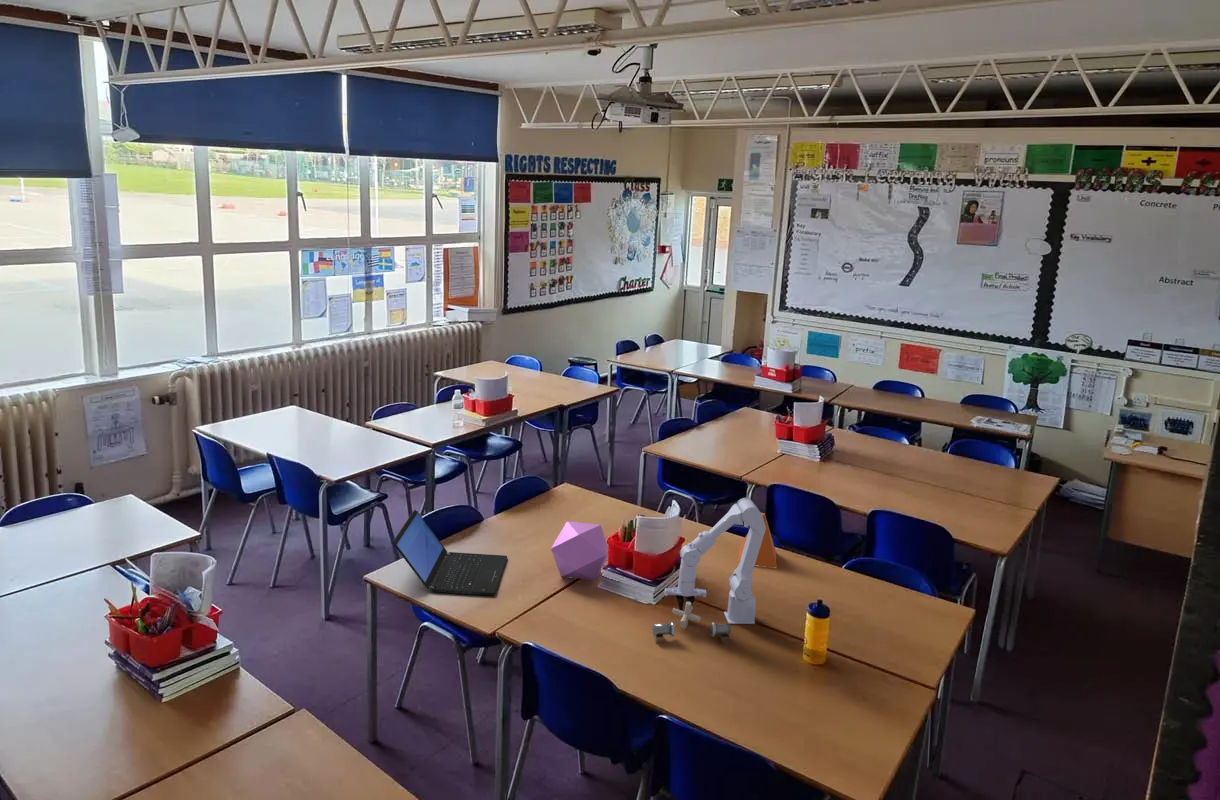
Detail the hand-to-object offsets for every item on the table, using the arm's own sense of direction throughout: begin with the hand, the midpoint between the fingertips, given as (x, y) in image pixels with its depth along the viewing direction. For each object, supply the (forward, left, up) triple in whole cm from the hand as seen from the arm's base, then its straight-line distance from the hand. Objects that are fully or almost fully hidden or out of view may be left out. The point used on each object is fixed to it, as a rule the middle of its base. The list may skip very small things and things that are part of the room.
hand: (682, 613), depth 300 cm
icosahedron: (+34, -34, -2) cm, 48 cm away
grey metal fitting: (+9, +14, -2) cm, 17 cm away
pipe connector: (0, +6, -2) cm, 6 cm away
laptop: (+83, -34, -2) cm, 90 cm away
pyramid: (-41, -50, -2) cm, 64 cm away
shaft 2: (-10, +14, -2) cm, 17 cm away
